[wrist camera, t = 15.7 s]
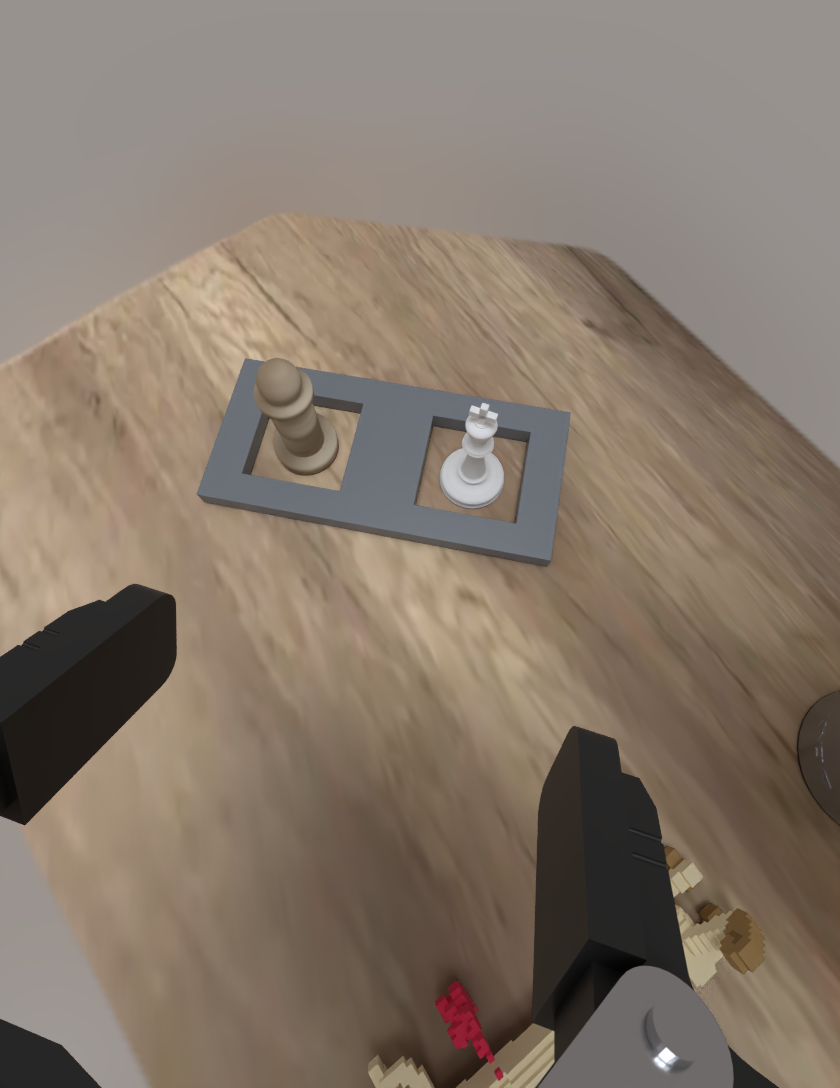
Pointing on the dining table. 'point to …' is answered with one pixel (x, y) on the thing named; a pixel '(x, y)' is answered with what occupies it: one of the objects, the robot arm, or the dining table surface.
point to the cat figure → (526, 1060)
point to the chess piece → (474, 463)
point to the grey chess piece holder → (394, 466)
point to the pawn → (294, 418)
